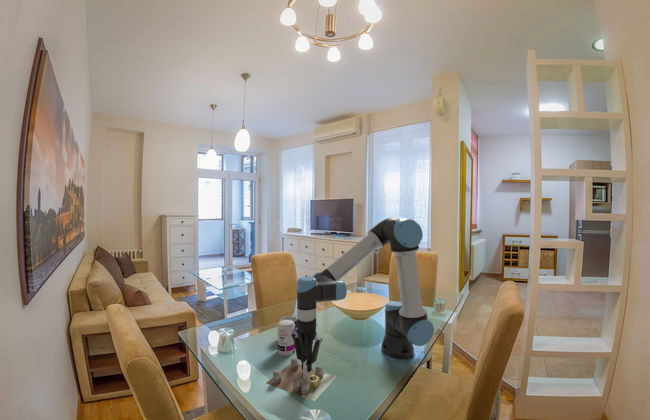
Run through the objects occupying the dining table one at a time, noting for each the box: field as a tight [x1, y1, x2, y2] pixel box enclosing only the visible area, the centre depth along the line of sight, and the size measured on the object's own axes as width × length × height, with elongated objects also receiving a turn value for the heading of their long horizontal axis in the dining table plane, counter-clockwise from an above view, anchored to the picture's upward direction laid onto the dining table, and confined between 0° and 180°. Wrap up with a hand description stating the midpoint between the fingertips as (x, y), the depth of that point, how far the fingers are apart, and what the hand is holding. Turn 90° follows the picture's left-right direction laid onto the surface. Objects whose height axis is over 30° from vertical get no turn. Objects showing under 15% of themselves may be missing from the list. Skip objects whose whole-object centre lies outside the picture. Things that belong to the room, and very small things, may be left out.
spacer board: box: [266, 357, 337, 402], centre depth 115 cm, size 22×17×5 cm
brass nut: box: [306, 375, 319, 388], centre depth 111 cm, size 4×5×3 cm
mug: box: [279, 315, 298, 332], centre depth 154 cm, size 12×9×10 cm
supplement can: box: [277, 319, 296, 357], centre depth 137 cm, size 8×8×15 cm
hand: (306, 378), depth 113 cm, fingers closed
